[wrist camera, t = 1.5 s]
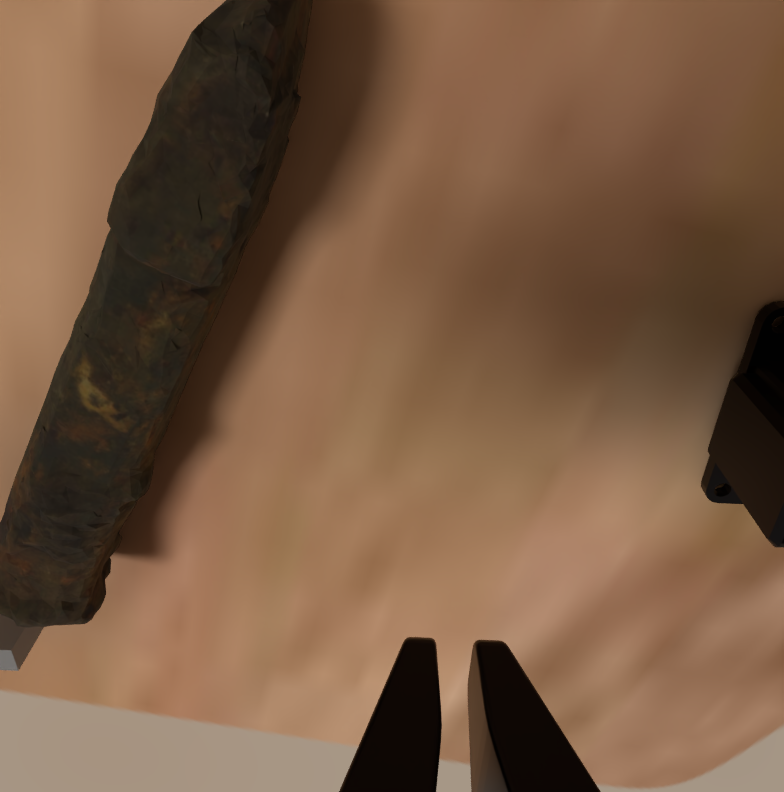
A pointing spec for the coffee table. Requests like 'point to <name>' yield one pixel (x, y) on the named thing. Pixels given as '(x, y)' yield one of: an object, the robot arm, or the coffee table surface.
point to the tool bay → (15, 643)
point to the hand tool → (150, 304)
